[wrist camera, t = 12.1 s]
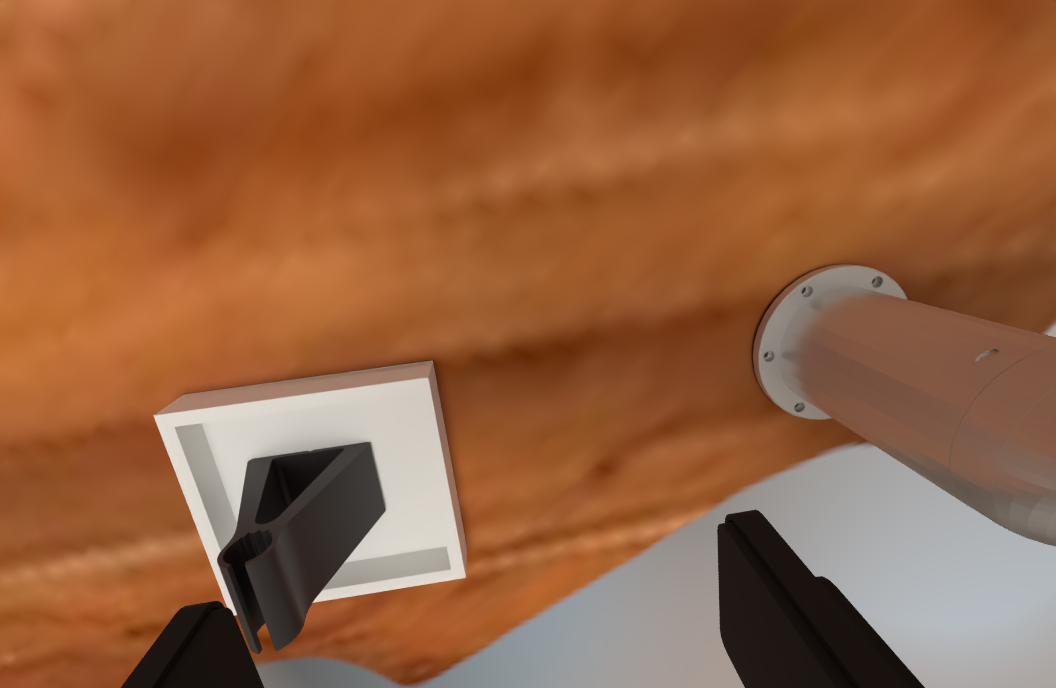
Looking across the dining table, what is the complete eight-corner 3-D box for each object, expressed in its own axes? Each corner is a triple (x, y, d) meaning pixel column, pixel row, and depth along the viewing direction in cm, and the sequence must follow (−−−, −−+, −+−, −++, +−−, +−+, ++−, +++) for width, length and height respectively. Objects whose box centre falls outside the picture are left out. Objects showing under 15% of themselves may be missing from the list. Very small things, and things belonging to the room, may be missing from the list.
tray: (432, 360, 36) (428, 377, 33) (466, 546, 42) (466, 577, 38) (183, 394, 35) (153, 415, 32) (251, 581, 41) (230, 616, 37)
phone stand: (271, 525, 38) (183, 666, 27) (249, 458, 37) (146, 579, 25) (386, 508, 39) (348, 639, 28) (371, 441, 37) (323, 553, 26)
